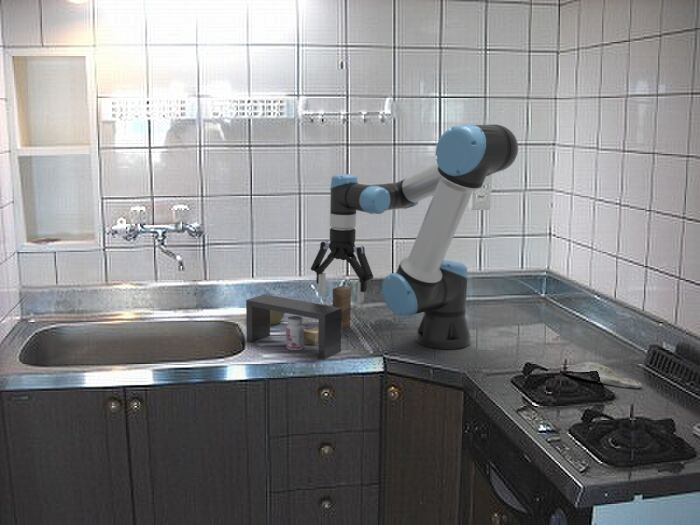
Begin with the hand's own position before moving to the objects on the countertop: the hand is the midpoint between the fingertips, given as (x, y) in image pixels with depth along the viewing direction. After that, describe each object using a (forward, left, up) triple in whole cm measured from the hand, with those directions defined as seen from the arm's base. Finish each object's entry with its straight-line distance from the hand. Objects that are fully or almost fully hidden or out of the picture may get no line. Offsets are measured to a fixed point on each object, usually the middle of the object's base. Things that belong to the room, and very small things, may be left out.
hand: (340, 298), depth 225 cm
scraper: (0, +8, -9) cm, 12 cm away
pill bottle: (0, +24, -9) cm, 25 cm away
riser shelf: (+1, +23, -9) cm, 25 cm away
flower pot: (+20, +8, -9) cm, 23 cm away
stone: (-77, 0, -9) cm, 77 cm away
